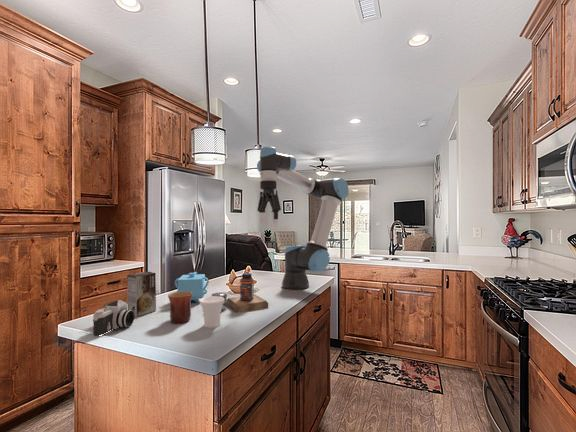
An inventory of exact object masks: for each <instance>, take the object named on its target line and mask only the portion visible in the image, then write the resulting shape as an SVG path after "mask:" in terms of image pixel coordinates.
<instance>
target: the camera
mask: <svg viewBox="0 0 576 432" xmlns="http://www.w3.org/2000/svg"><path fill="white" fill-rule="evenodd" d="M92 316H93V318H92V324H93V330H92V331H93V333H92V335H93V337H94V338H100V337H99V335H101V334H104V333H106V332H108V331H110V330H112V329H117V328H118V329H120V328H129V327H131V326H132V325H133V323H134V321H135V316H134V313H133V311H132V310H128V307H127V301H124V300H119V299H116V300H114V301H112V302H107V303H105V304H104V305H103V308H100V309H98V310H96V311H95V312H94V313H93V315H92ZM119 327H120V328H119ZM118 329H117V330H118Z"/></svg>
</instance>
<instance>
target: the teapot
mask: <svg viewBox="0 0 576 432" xmlns="http://www.w3.org/2000/svg"><path fill="white" fill-rule="evenodd" d="M209 283H210V280H209V279H208V277H206V275H205V273H200V274H199V273H198V271H194V272H188V274H182V275H181V276H180V277H178V278H176V279H175V281H174V286H175V288H177V290H176V292H181V291H187V292H192V293H193V294H192V298H191V301H194V303H199V304H200V302H199V298H200V299H201V298H204V297H205V295H206V294H207V293H208V289H206V288H207V287H208V286H209Z"/></svg>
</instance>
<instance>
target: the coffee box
mask: <svg viewBox="0 0 576 432" xmlns="http://www.w3.org/2000/svg"><path fill="white" fill-rule="evenodd" d="M126 279H127V281H126V282H127V283H126V285H127V286H126V287H127V288H126V289H127V292H126V294H127V301H126V303H127V310H132V311H133V313H134V317H140V316H143V315H146V314H150V313H153V312H156V311H157V293H156V291H157V289H156V288H157V287H156V286H157V285H156V283H157V282H156V272H152V271H148V270H147V271H141V272H136V273H131V274H130V273H129V274H127V275H126Z"/></svg>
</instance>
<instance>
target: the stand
mask: <svg viewBox="0 0 576 432" xmlns="http://www.w3.org/2000/svg"><path fill="white" fill-rule="evenodd" d="M227 307H229V308H230V309H231V310H233V311H234V312H235V313H237V314H238V313H242V312H243V313H244V312H248V311H256V309H257V310H261V309H262V308H263V309H267V308H268V309H269V302H268V301H267V300H266V299H264V298H262V297H260V296H259V295H257V294H254V297H253V299H252V300H250V301H243V300H241V299H240V295H239V296H233V297H232V296H231V297H227Z"/></svg>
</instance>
